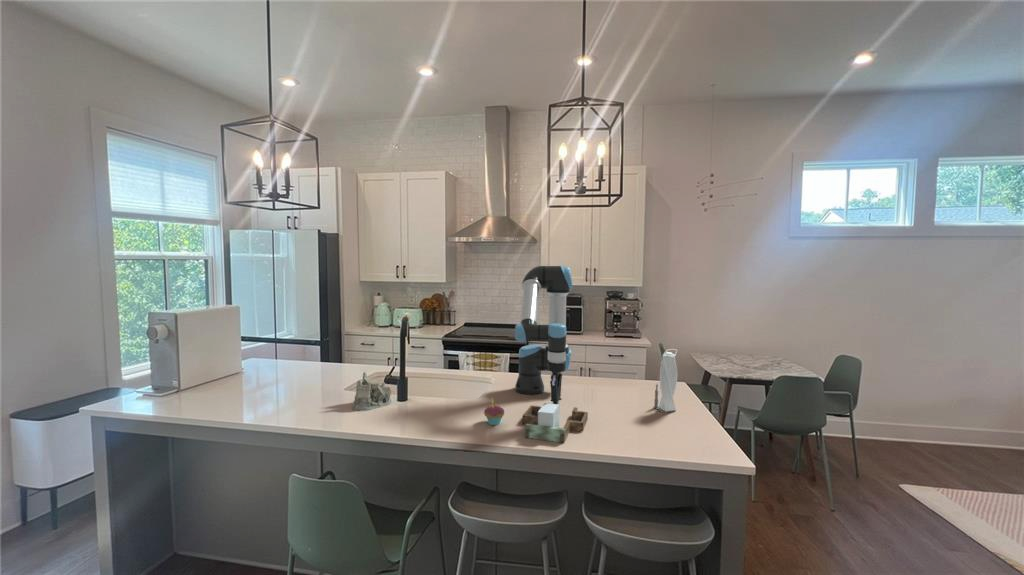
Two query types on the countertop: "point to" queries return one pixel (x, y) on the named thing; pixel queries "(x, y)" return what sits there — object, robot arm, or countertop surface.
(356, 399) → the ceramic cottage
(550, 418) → the skincare box
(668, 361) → the skyscraper
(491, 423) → the cupcake
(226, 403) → the countertop surface
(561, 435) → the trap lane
